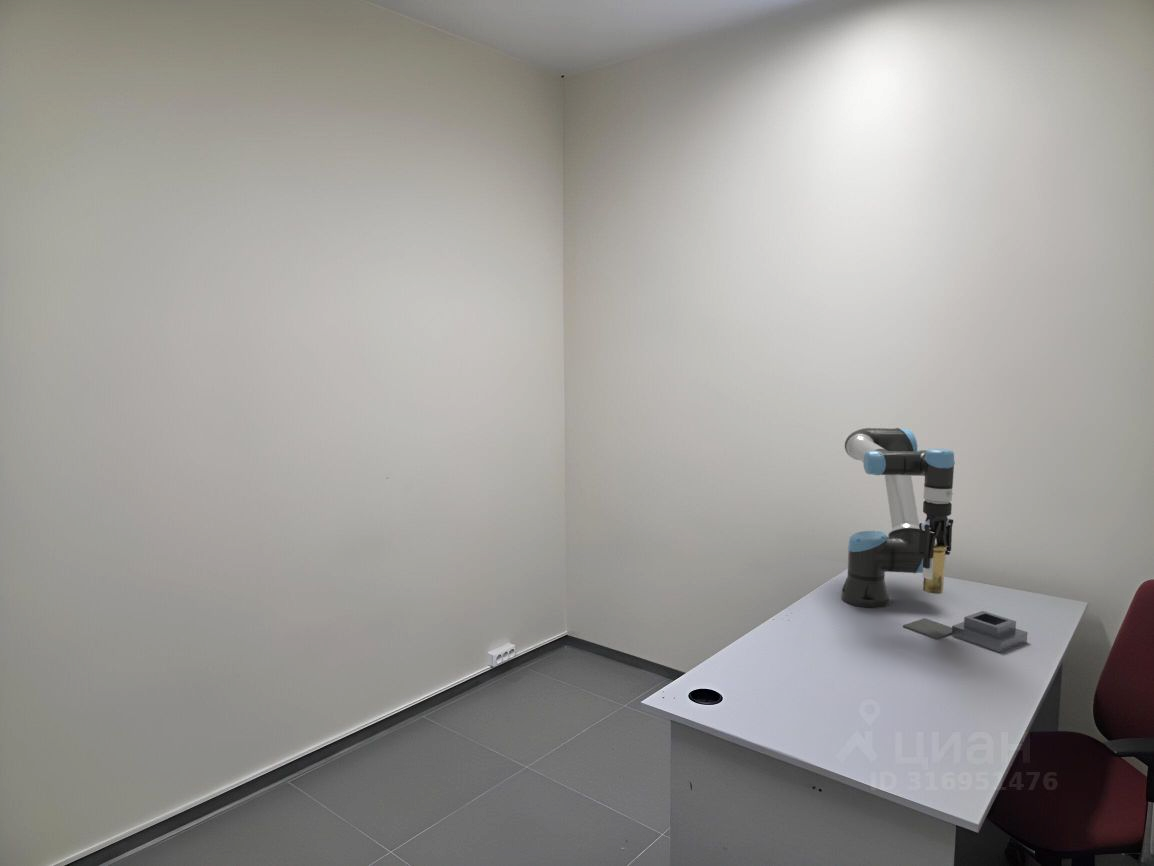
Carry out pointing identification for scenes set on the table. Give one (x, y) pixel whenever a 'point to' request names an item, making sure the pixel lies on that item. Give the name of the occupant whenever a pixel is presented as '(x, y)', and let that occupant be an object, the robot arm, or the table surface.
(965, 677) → the table surface
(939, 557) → the brass flared knob
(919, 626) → the mat
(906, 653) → the table surface
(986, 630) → the housing
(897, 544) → the robot arm
